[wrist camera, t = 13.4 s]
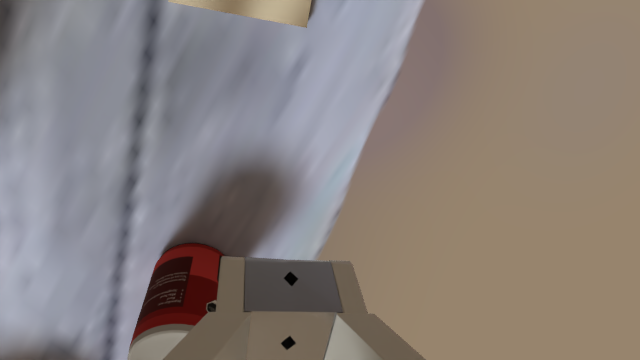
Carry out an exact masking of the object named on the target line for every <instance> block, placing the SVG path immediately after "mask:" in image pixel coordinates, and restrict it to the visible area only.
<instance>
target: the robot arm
mask: <svg viewBox="0 0 640 360" xmlns="http://www.w3.org/2000/svg"><path fill="white" fill-rule="evenodd" d="M163 360H426V359H424V358H423V357H422V356H421V355H420V354H419V353H418V352H417V351H416V350H414V349H413V348H412V347H411V346H410V345H409V344H408V343H407V342H405V341H404V340H403V339H402V338H401V337H400V336H399V335H398V334H396V333H395V332H394V331H393V330H392V329H391V328H390V327H389V326H387V325H386V324H385V323H384V322H383V321H382V320H380V319H379V318H378V317H377V316H376V315H375V314H368V312H367V309H366V306H365V303H364V299H363V296H362V293H361V290H360V287H359V284H358V280H357V278H356V274H355V271H354V268H353V265H352V263H351V262H350V261H312V260H284V259H268V258H252V257H245V259H244V257H229V256H222V258H221V262H220V272H219V282H218V292H217V302H216V312H208V313H207V314H206V315H205V316H204V317H203V318H202V319H201V320H200V321H199V322H198V323H197V324H196V325H195V326H194V327H193V329H192V330H191V331H190V332H189V333H188V334H187V335H186V336H185V337H184V338H183V339H182V340H181V341H180V342H179V343H178V344H177V345H176V346H175V347H174V348H173V349H172V350H171V351H170V352H169V353H168V354H167V356H166V357H165V358H164V359H163Z"/></svg>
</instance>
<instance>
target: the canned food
mask: <svg viewBox="0 0 640 360" xmlns="http://www.w3.org/2000/svg"><path fill="white" fill-rule="evenodd" d="M222 256H224V255H223V254H222V253H221V252H220V251H218V250H216V249H215V248H213V247H210V246H207V245H203V244H196V243H189V244H182V245H178V246H175V247H173V248H171V249H169V250H168V251H166V252H165V253H164V254H163V255H162V257H161V258H160V259H159V260H158V261H157V263H156V265H155V268H154V271H153V274H152V277H151V280H150V284H149V287H148V290H147V293H146V296H145V299H144V302H143V306H142V309H141V312H140V315H139V318H138V321H137V324H136V328H135V331H134V334H133V338H132V341H131V344H130V348H129V354H128V360H163V359H164V358H165V357H166V356H167V354H168V353H169V352H170V351H171V350H172V349H173V348H174V347H175V346H176V345H177V344H178V343H179V342H180V341H181V340H182V339H183V338H184V337H185V336H186V335H187V334H188V333H189V332H190V331H191V330H192V329H193V327H194V326H195V325H196V324H197V323H198V322H199V321H200V320H201V319H202V318H203V317H204V316H205V315H206V314H207V313H208V312H216V302H217V292H218V282H219V272H220V262H221V258H222Z"/></svg>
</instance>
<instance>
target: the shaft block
mask: <svg viewBox="0 0 640 360" xmlns="http://www.w3.org/2000/svg"><path fill="white" fill-rule="evenodd" d="M169 2H173V3H179V4H184V5H189V6H195V7H200V8H205V9H211V10H216V11H221V12H226V13H232V14H237V15H242V16H248V17H253V18H258V19H264V20H269V21H274V22H280V23H285V24H290V25H295V26H301V27H306V28H307V22H308V17H309V11H310V5H311V0H169Z"/></svg>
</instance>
